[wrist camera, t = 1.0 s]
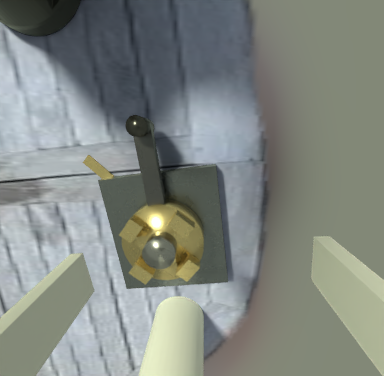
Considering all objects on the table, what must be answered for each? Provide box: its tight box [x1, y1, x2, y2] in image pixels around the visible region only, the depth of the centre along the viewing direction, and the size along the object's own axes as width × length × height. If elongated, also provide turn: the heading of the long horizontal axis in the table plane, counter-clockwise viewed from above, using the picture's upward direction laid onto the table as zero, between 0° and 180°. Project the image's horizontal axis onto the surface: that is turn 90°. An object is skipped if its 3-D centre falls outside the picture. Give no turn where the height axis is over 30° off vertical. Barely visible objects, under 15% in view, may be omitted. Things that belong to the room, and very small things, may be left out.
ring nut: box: [119, 115, 204, 285], centre depth 26 cm, size 24×12×5 cm, turn 8°
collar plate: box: [83, 155, 228, 289], centre depth 31 cm, size 24×21×2 cm
